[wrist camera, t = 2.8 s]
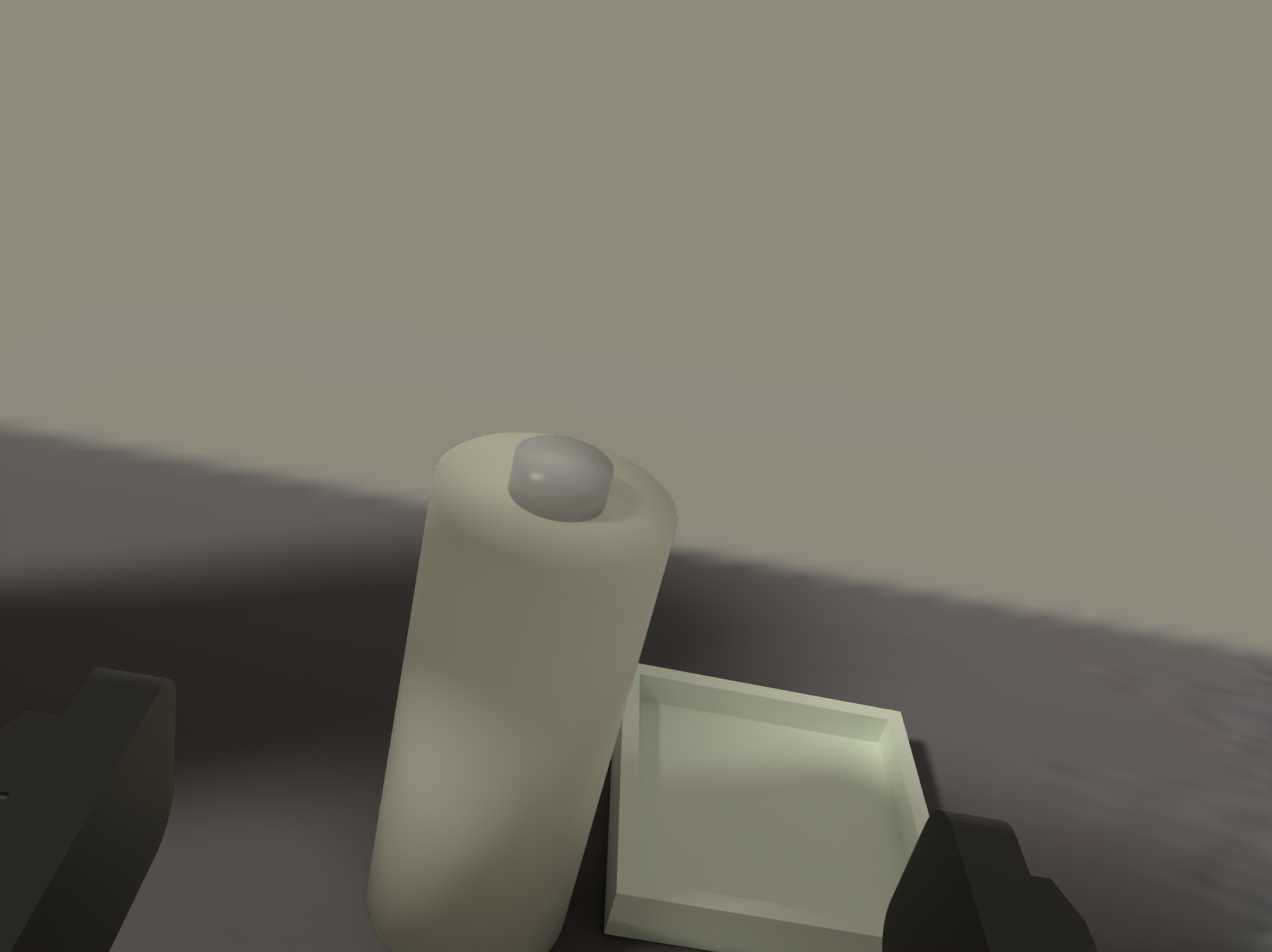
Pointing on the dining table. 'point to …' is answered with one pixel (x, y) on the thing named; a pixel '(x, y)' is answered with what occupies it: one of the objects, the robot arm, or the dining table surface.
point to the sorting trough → (756, 817)
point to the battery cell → (512, 688)
